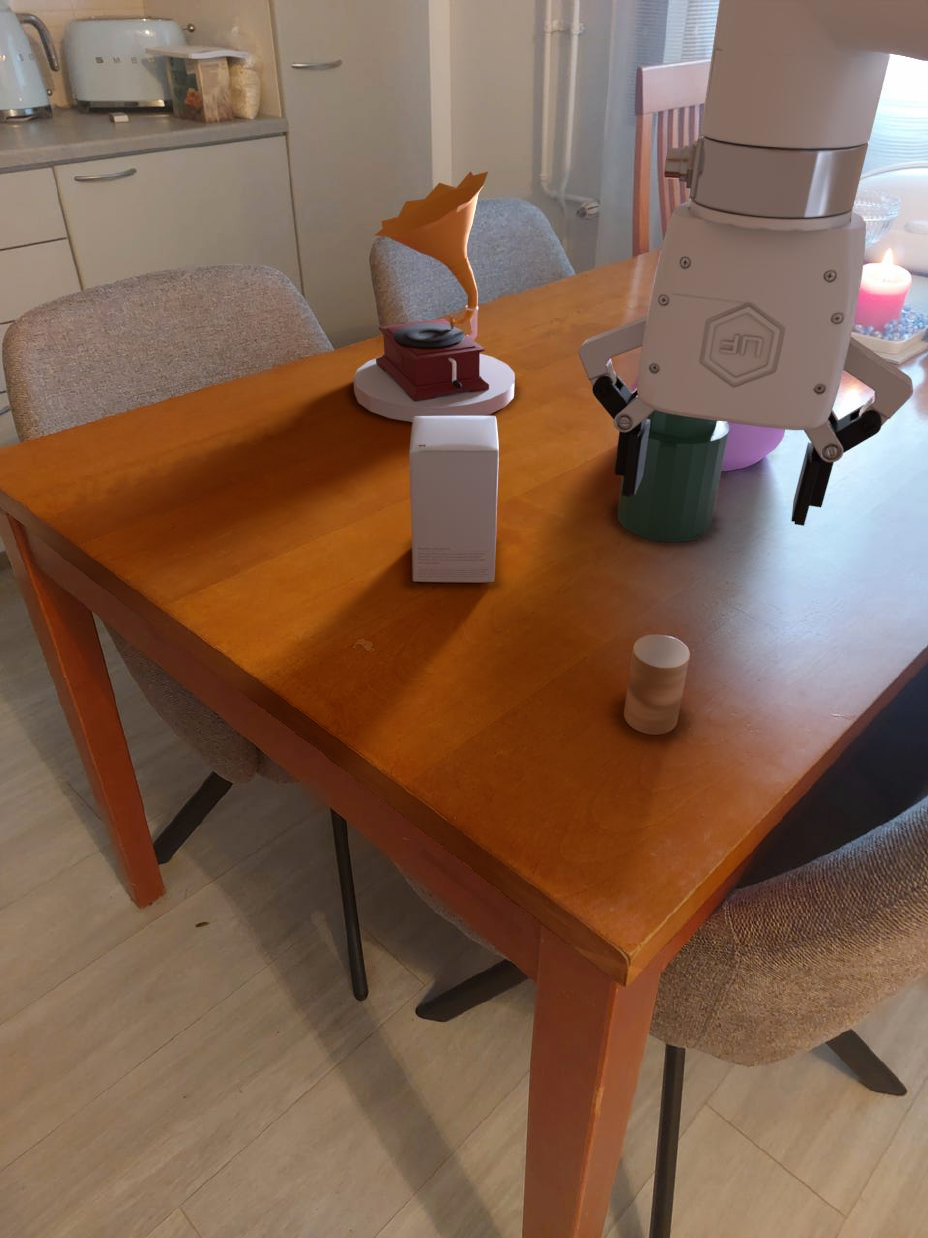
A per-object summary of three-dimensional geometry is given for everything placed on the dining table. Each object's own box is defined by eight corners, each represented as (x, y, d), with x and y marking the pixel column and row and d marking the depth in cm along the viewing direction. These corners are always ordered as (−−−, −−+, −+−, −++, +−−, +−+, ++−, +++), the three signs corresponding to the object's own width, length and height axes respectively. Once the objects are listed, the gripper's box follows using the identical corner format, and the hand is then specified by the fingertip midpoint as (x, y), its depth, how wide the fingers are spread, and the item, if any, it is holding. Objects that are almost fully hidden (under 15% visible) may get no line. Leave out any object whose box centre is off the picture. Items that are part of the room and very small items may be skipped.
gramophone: (475, 354, 125) (477, 155, 110) (543, 407, 110) (555, 184, 95) (334, 374, 118) (316, 166, 104) (385, 434, 103) (373, 199, 88)
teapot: (780, 498, 91) (812, 367, 83) (607, 477, 94) (620, 349, 86) (778, 406, 110) (803, 292, 102) (635, 391, 114) (648, 280, 106)
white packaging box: (495, 584, 78) (499, 450, 70) (411, 583, 78) (405, 450, 70) (494, 540, 84) (498, 413, 76) (415, 540, 84) (411, 412, 76)
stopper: (681, 707, 65) (694, 641, 61) (671, 740, 62) (684, 674, 58) (630, 694, 66) (640, 629, 62) (617, 726, 63) (627, 660, 60)
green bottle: (717, 506, 89) (741, 381, 82) (702, 550, 83) (726, 417, 75) (629, 490, 92) (644, 367, 84) (607, 531, 85) (621, 401, 78)
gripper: (578, 182, 42) (554, 504, 52) (982, 211, 37) (870, 559, 47) (611, 157, 48) (584, 452, 58) (965, 179, 43) (868, 495, 53)
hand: (713, 500), depth 52 cm, fingers open, 9 cm apart
